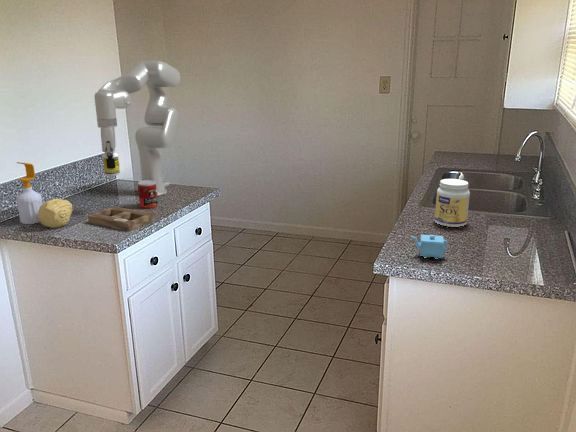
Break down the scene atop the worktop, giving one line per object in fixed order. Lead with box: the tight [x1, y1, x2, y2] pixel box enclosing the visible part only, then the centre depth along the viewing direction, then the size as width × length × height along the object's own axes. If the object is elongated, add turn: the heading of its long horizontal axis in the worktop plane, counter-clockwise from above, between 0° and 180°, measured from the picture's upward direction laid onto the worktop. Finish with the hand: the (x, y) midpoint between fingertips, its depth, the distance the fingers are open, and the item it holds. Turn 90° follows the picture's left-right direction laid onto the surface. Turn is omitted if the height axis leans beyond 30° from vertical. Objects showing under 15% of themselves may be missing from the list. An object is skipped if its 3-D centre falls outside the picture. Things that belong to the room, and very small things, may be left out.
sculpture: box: [38, 198, 73, 229], centre depth 208 cm, size 12×12×11 cm
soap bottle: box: [16, 161, 44, 225], centre depth 211 cm, size 9×9×25 cm
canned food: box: [137, 180, 159, 210], centre depth 231 cm, size 8×8×11 cm
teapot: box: [410, 234, 449, 259], centre depth 175 cm, size 12×6×8 cm, turn 77°
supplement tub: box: [434, 178, 471, 228], centre depth 204 cm, size 12×12×17 cm
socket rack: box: [87, 205, 155, 232], centre depth 212 cm, size 14×22×3 cm, turn 61°
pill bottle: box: [102, 148, 121, 177], centre depth 219 cm, size 6×6×11 cm
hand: (111, 166), depth 220 cm, fingers closed on pill bottle, 6 cm apart
